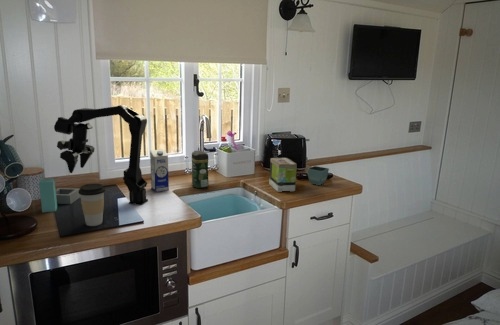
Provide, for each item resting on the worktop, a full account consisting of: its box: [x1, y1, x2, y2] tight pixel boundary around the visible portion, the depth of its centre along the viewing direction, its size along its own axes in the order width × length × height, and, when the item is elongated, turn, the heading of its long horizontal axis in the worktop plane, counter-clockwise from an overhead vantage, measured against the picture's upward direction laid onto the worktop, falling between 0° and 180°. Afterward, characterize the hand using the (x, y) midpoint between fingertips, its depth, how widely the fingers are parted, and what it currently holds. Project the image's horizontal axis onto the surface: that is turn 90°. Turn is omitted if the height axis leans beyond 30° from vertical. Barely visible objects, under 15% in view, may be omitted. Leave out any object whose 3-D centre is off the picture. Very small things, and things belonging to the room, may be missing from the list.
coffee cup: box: [79, 183, 106, 227], centre depth 144 cm, size 9×9×15 cm
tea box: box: [268, 157, 298, 193], centre depth 196 cm, size 15×10×15 cm
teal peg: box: [38, 177, 58, 213], centre depth 156 cm, size 5×5×13 cm
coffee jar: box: [191, 149, 209, 189], centre depth 194 cm, size 10×8×19 cm
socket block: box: [55, 187, 81, 205], centre depth 169 cm, size 10×10×4 cm
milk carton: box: [149, 148, 170, 193], centre depth 186 cm, size 7×7×20 cm
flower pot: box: [307, 165, 330, 186], centre depth 204 cm, size 9×9×9 cm
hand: (76, 170), depth 169 cm, fingers open, 9 cm apart
